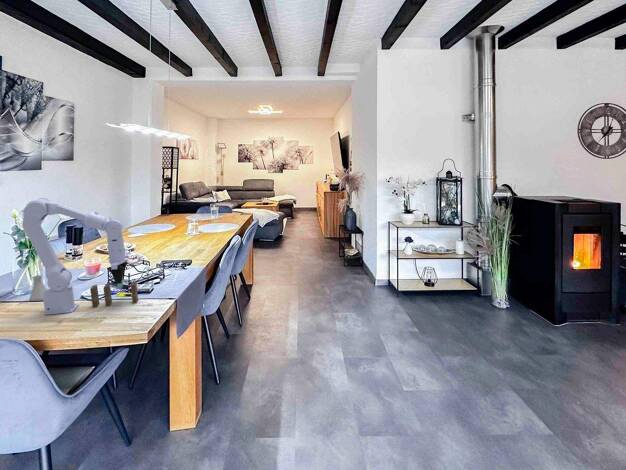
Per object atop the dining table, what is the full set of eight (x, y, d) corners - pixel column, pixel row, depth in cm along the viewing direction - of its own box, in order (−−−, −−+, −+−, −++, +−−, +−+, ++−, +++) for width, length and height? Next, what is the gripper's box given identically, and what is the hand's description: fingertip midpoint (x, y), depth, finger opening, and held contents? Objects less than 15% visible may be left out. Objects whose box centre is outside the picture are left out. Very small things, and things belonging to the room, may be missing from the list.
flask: (39, 302, 154) (36, 279, 152) (25, 301, 156) (21, 278, 154) (55, 296, 161) (51, 274, 159) (41, 295, 163) (37, 273, 161)
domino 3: (117, 288, 150) (115, 269, 149) (119, 284, 154) (117, 266, 153) (121, 287, 151) (119, 268, 149) (123, 284, 155) (121, 266, 153)
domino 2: (105, 306, 150) (103, 287, 148) (108, 302, 154) (105, 284, 152) (109, 305, 150) (107, 287, 149) (112, 302, 154) (109, 283, 153)
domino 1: (92, 307, 149) (90, 288, 147) (95, 303, 153) (93, 285, 151) (96, 307, 149) (94, 288, 148) (99, 303, 153) (97, 285, 151)
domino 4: (132, 303, 153) (130, 285, 151) (134, 299, 157) (132, 282, 155) (136, 303, 153) (134, 284, 152) (138, 299, 157) (136, 281, 156)
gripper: (123, 252, 144) (127, 286, 146) (130, 244, 157) (133, 275, 160) (103, 254, 142) (107, 287, 144) (111, 245, 155) (115, 276, 158)
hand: (119, 281), depth 152 cm, fingers closed on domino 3, 4 cm apart
